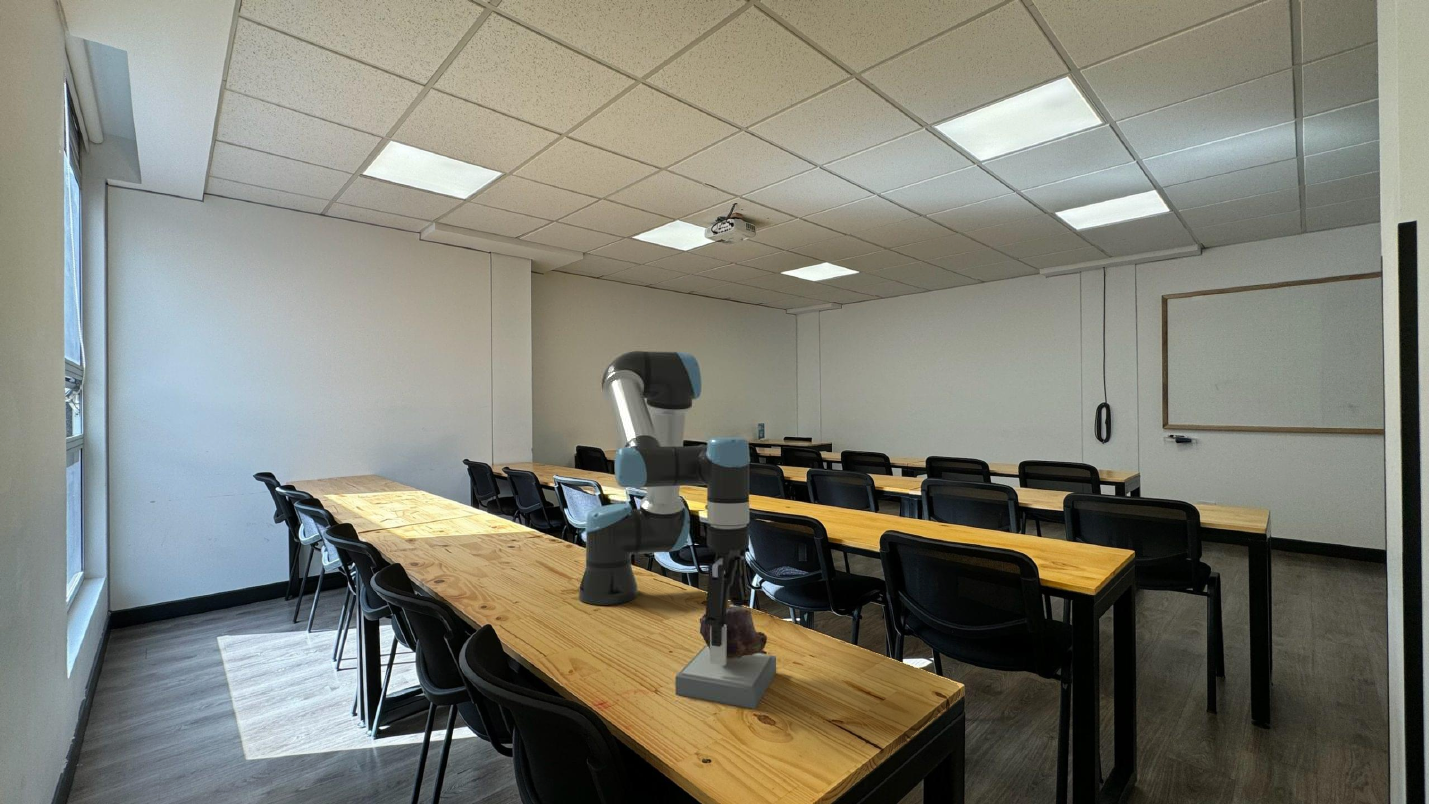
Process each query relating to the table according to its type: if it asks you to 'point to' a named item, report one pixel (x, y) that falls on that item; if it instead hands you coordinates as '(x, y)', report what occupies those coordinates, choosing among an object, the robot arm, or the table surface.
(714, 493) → the robot arm
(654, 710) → the table surface
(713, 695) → the grey flat square block
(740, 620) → the rock
